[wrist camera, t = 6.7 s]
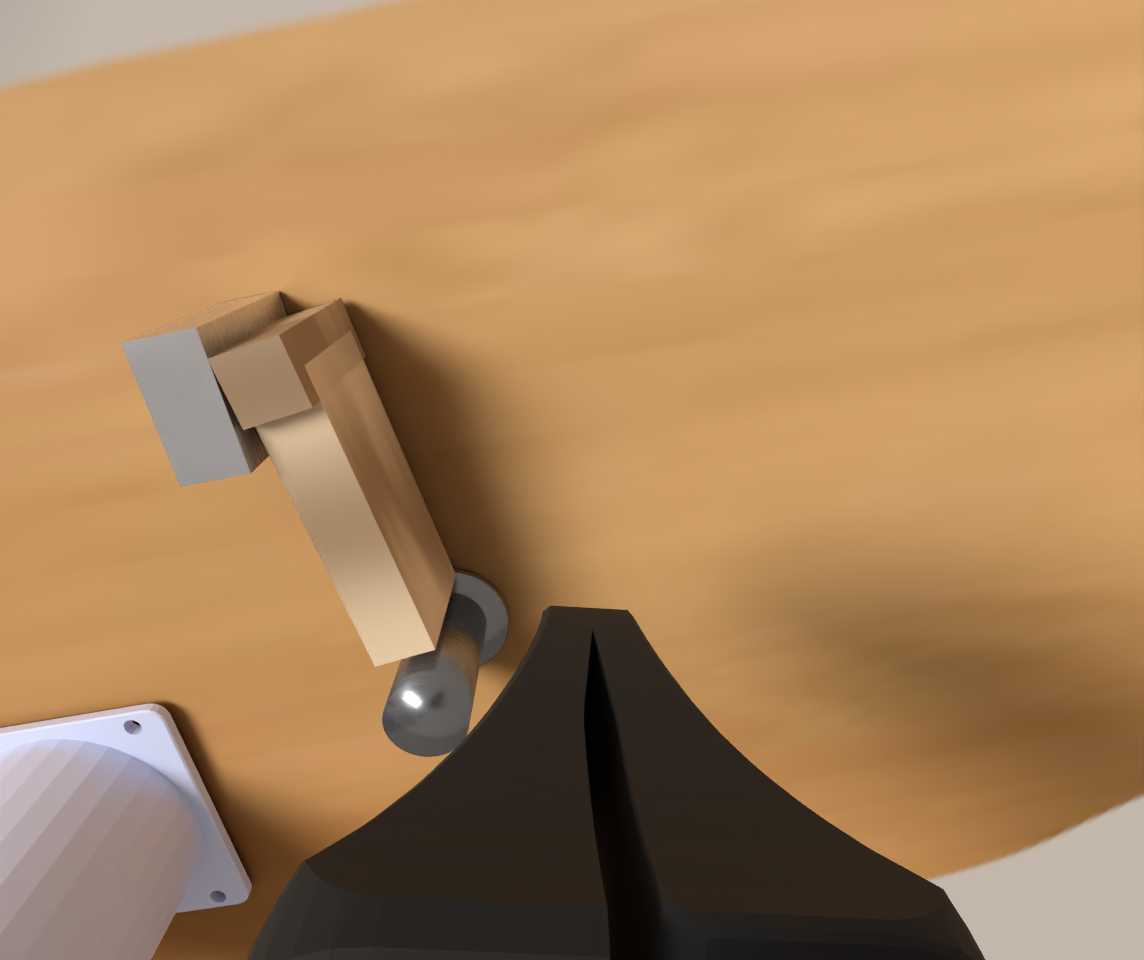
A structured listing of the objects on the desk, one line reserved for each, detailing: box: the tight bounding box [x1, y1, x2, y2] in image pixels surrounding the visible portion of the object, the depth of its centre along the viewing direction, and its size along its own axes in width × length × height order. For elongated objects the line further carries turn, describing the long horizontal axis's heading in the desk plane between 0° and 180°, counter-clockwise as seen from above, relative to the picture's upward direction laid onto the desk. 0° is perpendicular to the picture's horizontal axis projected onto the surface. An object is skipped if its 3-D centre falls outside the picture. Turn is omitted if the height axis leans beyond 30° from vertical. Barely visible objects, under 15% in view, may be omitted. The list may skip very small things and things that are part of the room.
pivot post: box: [382, 568, 509, 757], centre depth 20 cm, size 3×3×4 cm
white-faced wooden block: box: [121, 291, 287, 487], centre depth 17 cm, size 2×3×4 cm, turn 11°
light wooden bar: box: [208, 298, 456, 666], centre depth 18 cm, size 8×2×4 cm, turn 18°
